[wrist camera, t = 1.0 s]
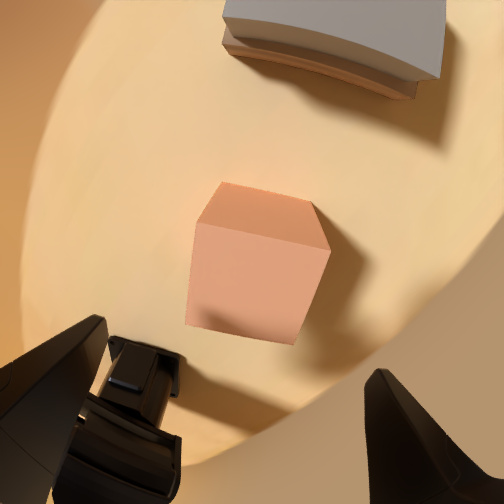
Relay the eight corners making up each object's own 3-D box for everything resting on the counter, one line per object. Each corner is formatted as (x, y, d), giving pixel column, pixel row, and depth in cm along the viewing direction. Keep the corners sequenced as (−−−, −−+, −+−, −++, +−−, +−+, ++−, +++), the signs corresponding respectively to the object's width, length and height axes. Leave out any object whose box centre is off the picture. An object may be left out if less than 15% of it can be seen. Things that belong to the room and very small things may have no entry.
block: (287, 275, 18) (293, 345, 13) (208, 259, 18) (185, 324, 12) (310, 201, 16) (331, 251, 10) (222, 181, 15) (196, 221, 10)
